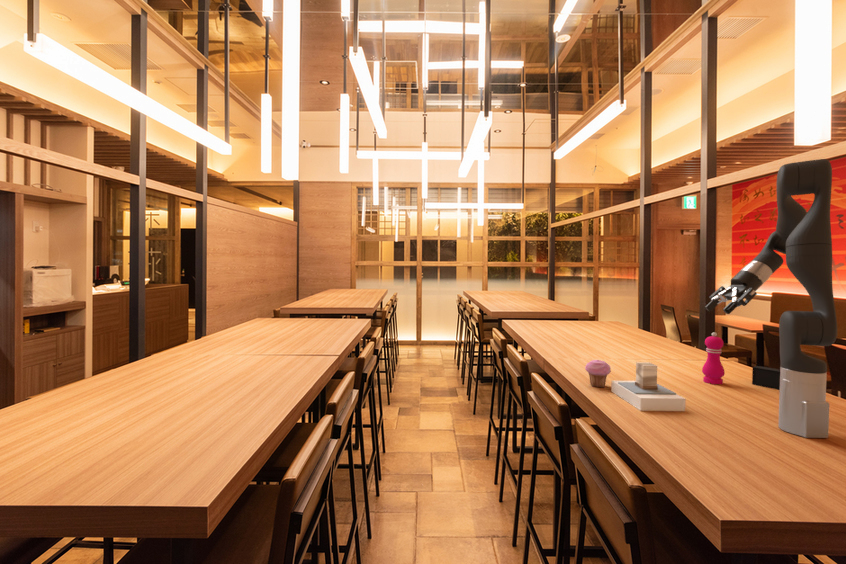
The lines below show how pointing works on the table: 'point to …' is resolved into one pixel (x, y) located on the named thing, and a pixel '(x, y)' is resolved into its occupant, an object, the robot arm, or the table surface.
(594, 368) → the cupcake
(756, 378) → the digital camera
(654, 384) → the memo note cube
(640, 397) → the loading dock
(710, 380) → the pepper mill
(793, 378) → the robot arm
